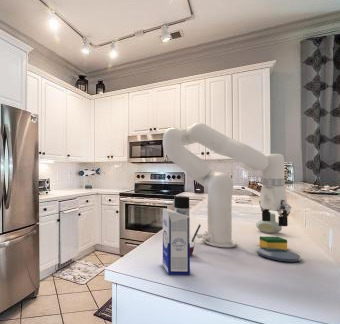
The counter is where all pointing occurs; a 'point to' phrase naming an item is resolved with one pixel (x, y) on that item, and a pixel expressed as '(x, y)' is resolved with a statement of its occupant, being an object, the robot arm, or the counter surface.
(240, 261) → the counter surface
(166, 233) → the milk carton
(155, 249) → the counter surface
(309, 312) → the counter surface
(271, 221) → the air freshener
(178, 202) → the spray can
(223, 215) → the robot arm
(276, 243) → the sponge
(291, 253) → the plate
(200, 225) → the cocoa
